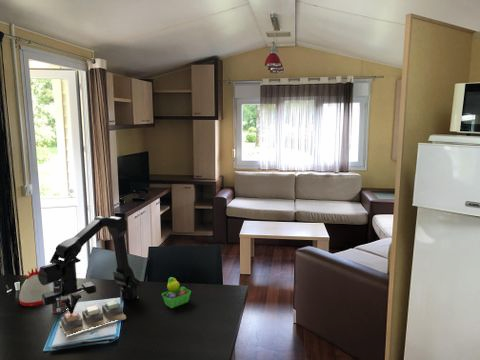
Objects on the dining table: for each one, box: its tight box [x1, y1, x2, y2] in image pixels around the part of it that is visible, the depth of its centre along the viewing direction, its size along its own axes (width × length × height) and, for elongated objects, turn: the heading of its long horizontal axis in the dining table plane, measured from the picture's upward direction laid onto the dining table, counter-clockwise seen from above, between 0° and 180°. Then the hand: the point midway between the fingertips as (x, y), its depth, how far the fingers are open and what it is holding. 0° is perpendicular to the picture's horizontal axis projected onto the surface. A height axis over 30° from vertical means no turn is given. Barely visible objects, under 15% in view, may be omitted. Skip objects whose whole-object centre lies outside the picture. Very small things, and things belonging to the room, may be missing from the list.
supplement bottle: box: [51, 286, 68, 315], centre depth 163 cm, size 6×6×11 cm
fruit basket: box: [161, 276, 192, 309], centre depth 170 cm, size 11×9×11 cm
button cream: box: [85, 304, 100, 316], centre depth 154 cm, size 4×4×3 cm
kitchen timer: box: [18, 266, 54, 307], centre depth 174 cm, size 14×14×15 cm
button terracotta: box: [64, 310, 78, 323], centre depth 149 cm, size 4×4×3 cm
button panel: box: [58, 302, 127, 337], centre depth 155 cm, size 23×12×4 cm, turn 127°
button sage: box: [105, 299, 119, 310], centre depth 159 cm, size 4×4×3 cm
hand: (71, 313), depth 149 cm, fingers closed
